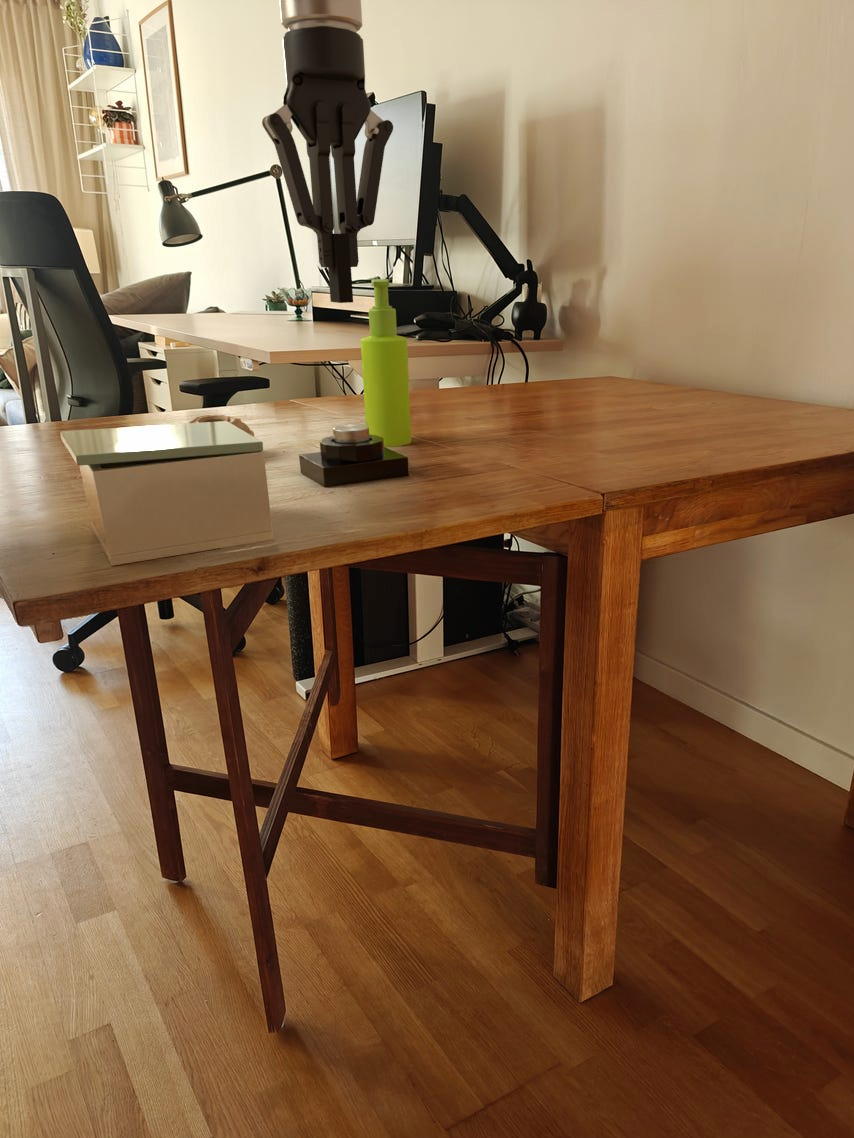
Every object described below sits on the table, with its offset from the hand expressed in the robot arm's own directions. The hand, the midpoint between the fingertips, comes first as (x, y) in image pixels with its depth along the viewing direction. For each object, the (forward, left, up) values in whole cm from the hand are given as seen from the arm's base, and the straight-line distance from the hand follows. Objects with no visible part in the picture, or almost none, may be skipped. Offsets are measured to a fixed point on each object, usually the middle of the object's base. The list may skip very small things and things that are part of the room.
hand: (341, 301), depth 91 cm
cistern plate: (0, 0, -18) cm, 18 cm away
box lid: (-23, -13, -10) cm, 28 cm away
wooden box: (-22, -13, -18) cm, 31 cm away
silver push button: (0, 0, -15) cm, 15 cm away
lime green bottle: (+11, +15, -19) cm, 26 cm away
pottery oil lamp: (-13, +16, -19) cm, 28 cm away
